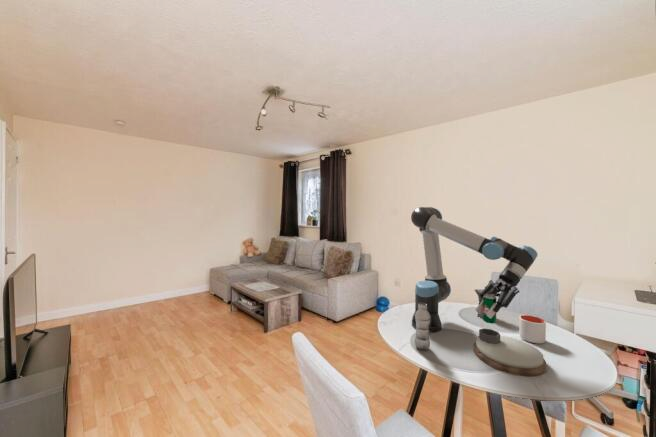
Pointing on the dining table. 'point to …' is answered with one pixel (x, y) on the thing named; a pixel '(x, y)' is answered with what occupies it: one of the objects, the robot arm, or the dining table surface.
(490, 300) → the soda can
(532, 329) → the cup
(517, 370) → the base
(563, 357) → the dining table surface
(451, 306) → the dining table surface
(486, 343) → the dial
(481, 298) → the coffeepot
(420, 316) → the plastic bottle
